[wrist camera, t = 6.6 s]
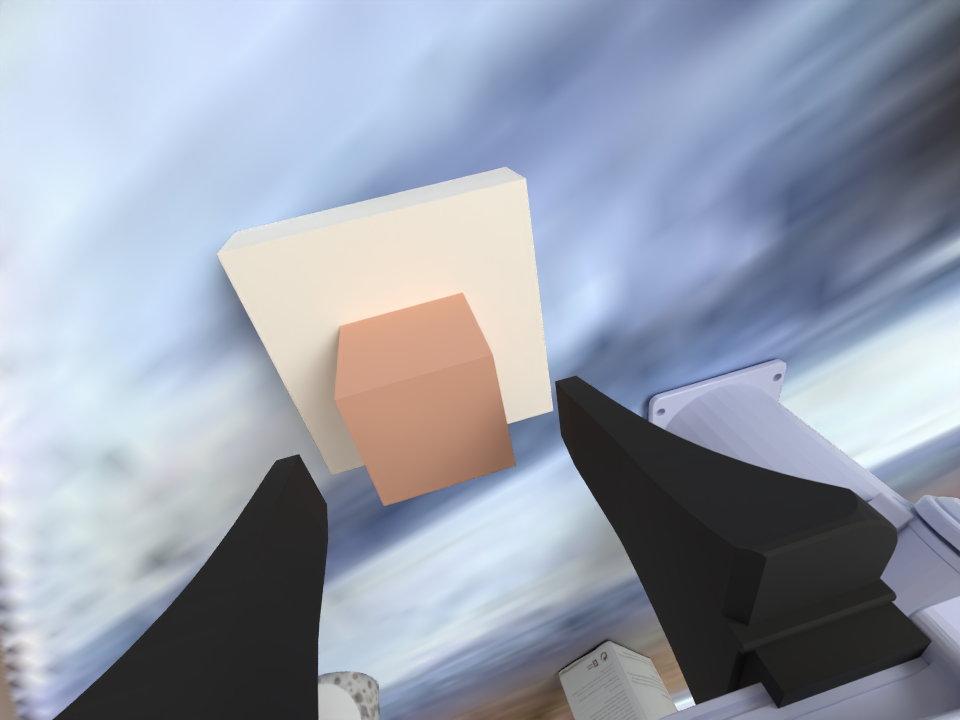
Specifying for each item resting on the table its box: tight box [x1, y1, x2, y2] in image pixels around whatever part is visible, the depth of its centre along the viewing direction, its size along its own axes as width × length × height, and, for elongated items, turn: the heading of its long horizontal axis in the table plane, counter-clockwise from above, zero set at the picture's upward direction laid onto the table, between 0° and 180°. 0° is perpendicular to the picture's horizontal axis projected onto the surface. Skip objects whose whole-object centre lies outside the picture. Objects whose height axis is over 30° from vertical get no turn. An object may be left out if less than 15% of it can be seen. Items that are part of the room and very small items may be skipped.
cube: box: [334, 292, 516, 506], centre depth 16 cm, size 4×4×4 cm
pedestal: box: [217, 167, 553, 475], centre depth 18 cm, size 10×10×2 cm
